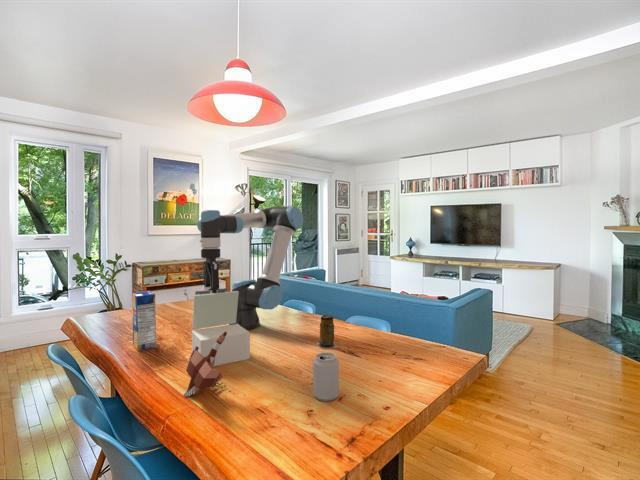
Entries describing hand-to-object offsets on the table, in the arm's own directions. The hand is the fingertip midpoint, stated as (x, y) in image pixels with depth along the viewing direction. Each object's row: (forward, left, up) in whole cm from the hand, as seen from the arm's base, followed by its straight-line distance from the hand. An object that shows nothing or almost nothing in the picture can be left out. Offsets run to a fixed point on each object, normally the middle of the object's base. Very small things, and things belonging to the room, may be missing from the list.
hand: (211, 304), depth 143 cm
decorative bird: (+12, +38, -18) cm, 43 cm away
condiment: (-42, +23, -18) cm, 51 cm away
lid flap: (0, +7, -1) cm, 7 cm away
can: (-17, +60, -18) cm, 65 cm away
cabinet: (0, +13, -18) cm, 22 cm away
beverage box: (+23, -18, -18) cm, 35 cm away
